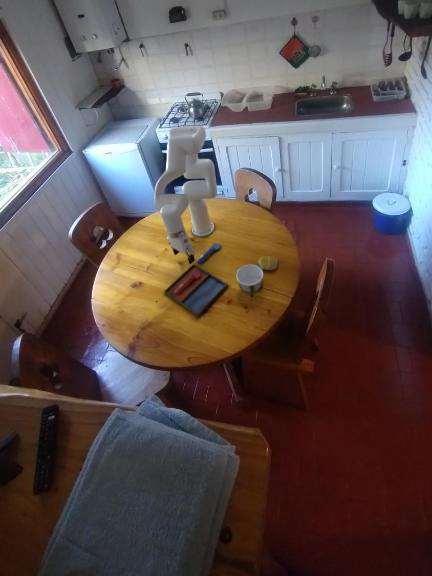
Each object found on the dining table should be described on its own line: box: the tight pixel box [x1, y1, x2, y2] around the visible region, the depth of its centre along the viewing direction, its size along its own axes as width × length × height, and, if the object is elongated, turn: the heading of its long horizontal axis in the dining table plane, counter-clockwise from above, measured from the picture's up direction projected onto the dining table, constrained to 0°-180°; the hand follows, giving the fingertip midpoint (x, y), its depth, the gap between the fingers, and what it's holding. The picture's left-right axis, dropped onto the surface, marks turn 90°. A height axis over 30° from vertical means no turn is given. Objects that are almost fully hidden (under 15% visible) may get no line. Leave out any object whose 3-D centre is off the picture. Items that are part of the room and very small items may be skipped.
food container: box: [235, 264, 264, 293], centre depth 156 cm, size 12×12×6 cm
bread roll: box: [257, 255, 279, 271], centre depth 164 cm, size 8×9×4 cm
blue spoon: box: [196, 243, 221, 265], centre depth 176 cm, size 16×4×2 cm, turn 139°
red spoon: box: [174, 271, 201, 295], centre depth 162 cm, size 16×4×2 cm, turn 139°
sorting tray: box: [163, 263, 229, 318], centre depth 160 cm, size 22×20×2 cm
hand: (184, 257), depth 156 cm, fingers open, 9 cm apart
